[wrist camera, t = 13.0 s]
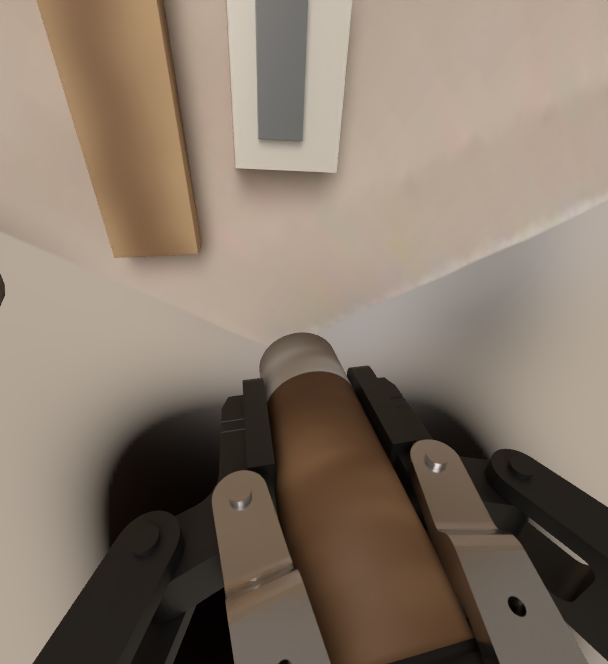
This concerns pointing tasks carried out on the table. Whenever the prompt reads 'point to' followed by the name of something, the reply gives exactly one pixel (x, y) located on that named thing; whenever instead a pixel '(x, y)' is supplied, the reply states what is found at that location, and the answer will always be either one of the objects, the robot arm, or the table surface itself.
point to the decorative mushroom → (2, 290)
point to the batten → (127, 120)
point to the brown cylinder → (351, 516)
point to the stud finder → (287, 82)
